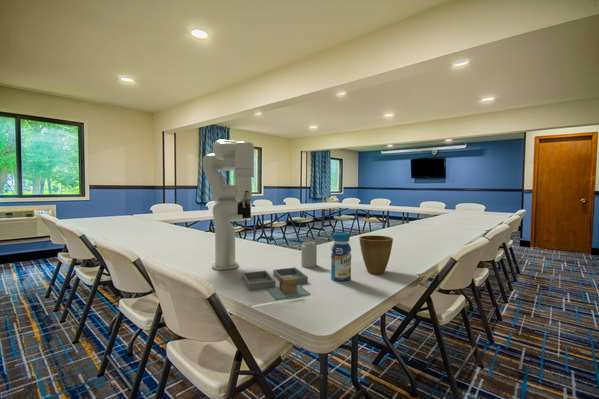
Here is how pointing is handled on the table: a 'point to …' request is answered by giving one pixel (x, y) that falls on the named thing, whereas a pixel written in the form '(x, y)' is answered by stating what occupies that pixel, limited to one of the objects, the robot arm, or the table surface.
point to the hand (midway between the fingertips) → (243, 216)
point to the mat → (279, 295)
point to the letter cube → (288, 284)
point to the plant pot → (376, 252)
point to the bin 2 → (291, 271)
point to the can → (309, 254)
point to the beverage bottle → (341, 258)
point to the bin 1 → (258, 280)
